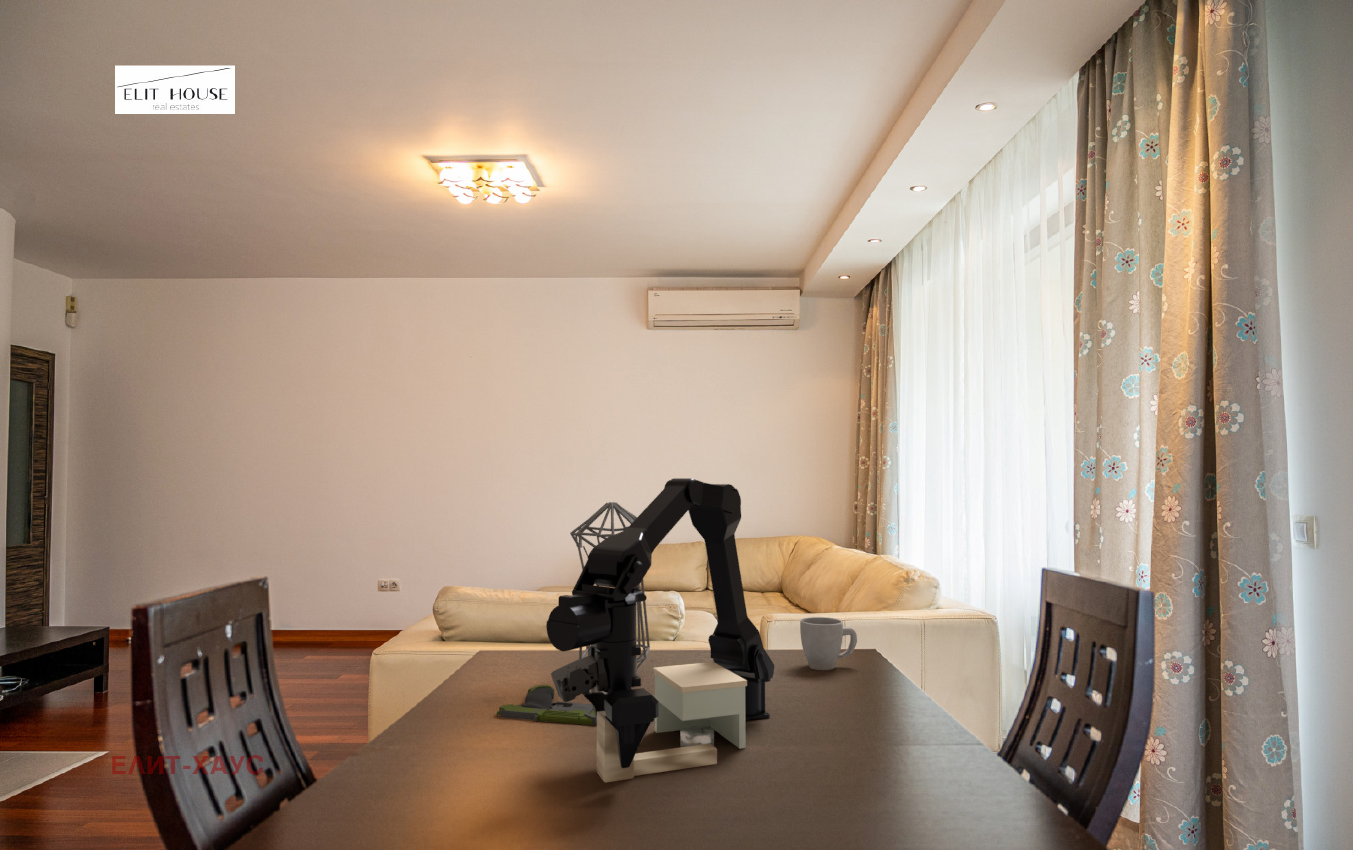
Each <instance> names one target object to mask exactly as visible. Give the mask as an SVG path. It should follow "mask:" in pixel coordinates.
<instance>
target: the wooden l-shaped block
mask: <svg viewBox="0 0 1353 850" xmlns="http://www.w3.org/2000/svg"><path fill="white" fill-rule="evenodd" d="M605 716H606V713H605V711H599V712H597V725H596V773H597V774H598V775H599V777H600V778H601V780H602V781H603V783H610V782H611V783H612V782H618V781H625V780H626V781H627V780H632V779H634V778H635V777H636V776H641V775H650V774H657V773H662V772H669V771H675V770H676V771H677V770H683V769H690V768H697V767H703V766H712V765H717V764H718V749H717V748H716V746H715V745H714V746H712V745H711V744H703V745H696V746H688V747H681V748H680V747H674V748H666V749H660V750H653V751H644V752H638V753H637V752H636V754H635V756H634V758H633V760H632V763H631V765H630V767H628V768H622V767H621V765H620V759H619V753H618V746H617V738H616V731H615V728H614V727H613V726H612V725H611V724H610V723H609V722H608V721H607V720H606V719H605Z"/></svg>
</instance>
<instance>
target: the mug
mask: <svg viewBox="0 0 1353 850" xmlns="http://www.w3.org/2000/svg"><path fill="white" fill-rule="evenodd" d="M799 623H800V624H799V626H800V628H799V629H800V632H799V633H800V640H801V646H802V650H803V654H804V656H805V659H806V661H807V663H808V668H810V669H812V670H815V671H816V670H817V671H831V670H834V669H835V668H836V663H837V661H838V659H844V658H846V657H848V656H850V655H852V654H853V652H854V650H855V648H856V647H857V643H858V635H857V632H856V630H855V629H854V628H852V627H849V626H846V627H845V626H844V627H843V621H842V620H841V619H839V618H834V617H825V616H811V617H810V616H809V617H803V618H801V619H800V622H799ZM843 636H849V637H850V639H849V644H848V647H847V649H845V650H844V651H843V652H841V650H842V643H843Z"/></svg>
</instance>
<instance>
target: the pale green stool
mask: <svg viewBox="0 0 1353 850" xmlns="http://www.w3.org/2000/svg"><path fill="white" fill-rule="evenodd" d="M652 669H653V671H652V673H653V674H654V697H655V698H656V699H657V700H658V701H659V716H658V717H657V718H654V732H655V733H656V734H658V733H667V732H668V733H669V732H676V731H680V730H681V729H682V728H684V727H687V726H695V725H699V726H707V727H710V728H712V729H713V730H714V732H717V734H719V735H720V736H722V737H723V738H724V739H726V740H727V741H729V742H730V743H731V744H733V745H734V746H735V747H736V748H738V749H739V750H740V749H746V746H747V745H746V743H747V742H746V720H745V686H747V680H745V679H743V678H742V677H740V676H738V675H736V674H734V673H732V672H731V671H729V670H727V669H725V668H723V667H722V666H720V665H718V664H716V663H714V661H709V662H708V661H707V662H698V663H688V664H686V663H685V664H678V665H676V664H675V665H665V666H657V667H656V666H655V667H653V668H652Z"/></svg>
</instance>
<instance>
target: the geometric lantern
mask: <svg viewBox="0 0 1353 850" xmlns="http://www.w3.org/2000/svg"><path fill="white" fill-rule="evenodd" d="M605 511H606V512H605ZM604 512H605V515H604V516H603V517H604V518H603V519H602V523H601V525H600V527H595V526H591V525H592V524H593V523H594V522H595V521H596V520H597V519H598V518H599V517H601V515H603V513H604ZM609 513H610V528H605V524H606V522H607V519H608V516H609ZM614 513H616V515H617V517H618V519H619V521H620V523H621V526H622V527H621V528H620V527H619V528H615V522H614V521H615V519H614V518H615V517H614V515H615V514H614ZM637 517H638V516H636V515H635V514H633V512H632V513H631V512H630V511H628V510H627V509H625V508H624V507H623V506H621V505H620V504H619V503H618V502H614V501H613V502H611V501H610V502H606V503H604V504H603V505H602V506H601V507H600V508H599V509H598V510H597V511H596V512H594V513H593V514H592V515H591V516H589V518H587V519H586V520H585V521H583V523H581V524H580V525H578V526H577V527H576V528H574V529H573V530H572V531H571V532H570V536H571V538H572V540H573V541H574V543H575V545H576V547H577V550H578V555H579V560H580V565H581V569H582V570H583V568H584V566H585V563H584V560H583V555H582V550H581V548H583V550H584V552H585V555H586V557H587V558H588V555H589V553H588V551H587V549H586V547H585V545H583V541H584V542H585V543H586V544H588V545H589V546H590V547H592V548H594V547H595V546H596V545H598V544H599V543H601V541H600V539H603V540H605V539H606V538H608V537H610V536H612V535H615V534H616V533H615V532H622V531H624V530H625V529H627V528H628V527H629V526H630V525H631V524H632V523H633V522H634V520H635V519H636V518H637ZM623 518H624V519H625V520H626V521H627V522H628V523H629V524H630V525H628V526H627V525H626V524H625V521H624V520H623ZM586 530H587V531H589V532H585V531H586ZM602 531H604V532H605V531H606V532H611V533H604V534H603V533H602ZM584 536H589V537H596V540H597V544H596V545H595V544H594V543H593V542H592V541H590V540H588V539H587V538H585V537H584ZM582 570H581V571H582ZM640 585H641V586H640ZM596 586H598V585H596ZM637 587H638V589H639V590H640V591H641V592H643V593H644V594H645V584H644V579H643V580H642V581H641V583H640V584H639V585H638V586H637ZM645 595H646V594H645ZM646 605H647V604H646V600H645V601H642V602H637V618H636V624H637V643H636V645H638V646H639V647H641V648H642V651H643V652H641V655H638V657H636V675H637V676H638V677H639V670H638V669H639V668H640V666H641V665H642V664H643V663H644V662H645V661H646V660H647V658H648V655H649V652H650V648H651V645H650V644H651V643H650V636H649V635H650V633H649V625H648V615H647V613H648V612H647V606H646ZM642 606H643V608H642ZM643 616H644V617H643ZM643 618H644V619H643ZM644 625H645V626H644ZM644 628H645V629H644ZM645 636H646V637H645ZM645 639H646V640H645ZM641 643H642V644H641ZM590 646H591V645H589V646H585V649H584V652H583V647H581V648H578V649H579V650H578V653H579V654H578V655H579V656H578V660H579V659H582V658H584V657H586V655H587V654H588V649H589V647H590ZM638 663H639V664H638Z"/></svg>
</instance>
